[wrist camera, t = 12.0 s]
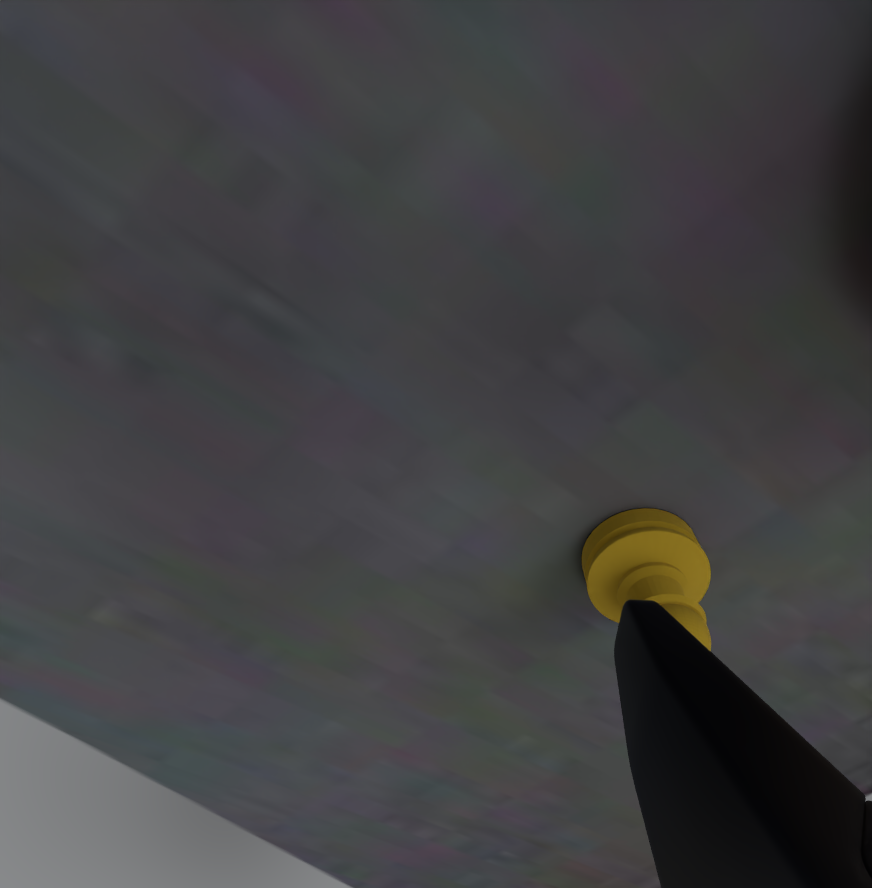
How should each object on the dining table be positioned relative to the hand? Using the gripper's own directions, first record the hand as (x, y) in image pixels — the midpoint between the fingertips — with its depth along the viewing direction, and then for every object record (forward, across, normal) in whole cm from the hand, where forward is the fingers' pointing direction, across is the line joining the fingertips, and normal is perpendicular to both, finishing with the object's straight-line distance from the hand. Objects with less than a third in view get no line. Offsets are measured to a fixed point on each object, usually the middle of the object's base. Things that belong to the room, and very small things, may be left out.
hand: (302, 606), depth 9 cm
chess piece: (+12, -9, +7) cm, 16 cm away
